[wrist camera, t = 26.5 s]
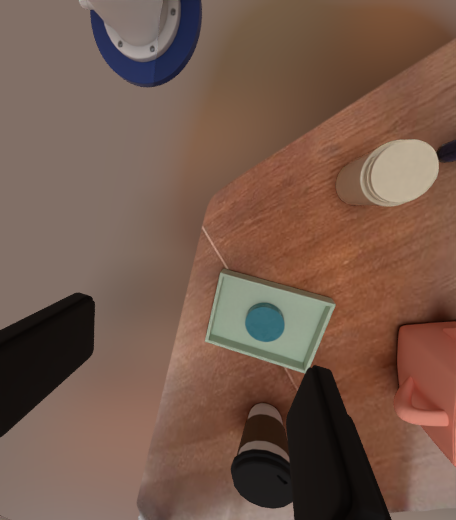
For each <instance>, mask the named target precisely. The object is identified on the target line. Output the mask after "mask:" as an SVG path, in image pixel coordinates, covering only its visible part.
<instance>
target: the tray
mask: <svg viewBox="0 0 456 520" xmlns="http://www.w3.org/2000/svg"><path fill="white" fill-rule="evenodd" d="M258 303H270V304H273V305H275V306H276V307H278V308H279V309H280V311H281V312H282V314H283V317H284V323H285V328H284V332H283V333H282V335H281V336H280V337H279V338H278V339H276V340H274V341H271V342H262V341H258V340H256V339H254V338H253V337H252V336H251V335H250V334H249V333H248V332H247V330H246V326H245V321H246V315H247V312H248V310H249V309H250V308H251V307H252V306H253V305H255V304H258ZM335 305H336V304H335V303H334V301H333V300H332V298H329V297H326V296H322V295H318V294H315V293H311V292H307V291H304V290H300V289H296V288H293V287H289V286H285V285H282V284H278V283H275V282H271V281H267V280H264V279H260V278H256V277H253V276H249V275H245V274H242V273H238V272H234V271H231V270H227V269H223V270H222V271H221V272H220V276H219V280H218V285H217V289H216V294H215V298H214V303H213V307H212V312H211V316H210V321H209V325H208V330H207V334H206V339H205V342H208V343H211V344H214V345H217V346H221V347H224V348H227V349H230V350H233V351H236V352H239V353H242V354H246V355H249V356H252V357H255V358H258V359H261V360H264V361H268V362H271V363H274V364H277V365H280V366H283V367H286V368H290V369H293V370H296V371H299V372H302V373H306V371H307V369H308V368H309V367H310V365H311V363H312V361H313V358H314V356H315V353H316V351H317V349H318V346H319V344H320V341H321V339H322V336H323V334H324V332H325V329H326V327H327V324H328V322H329V320H330V317H331V315H332V312H333V310H334V308H335Z"/></svg>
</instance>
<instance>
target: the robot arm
mask: <svg viewBox="0 0 456 520" xmlns="http://www.w3.org/2000/svg"><path fill="white" fill-rule="evenodd" d="M79 3H80V5H81V7H82V8H84V9H89V10H92V9H93V10H94V11H95V12H96V13H97V14H98V15H99V16H100V17H101V18H102V19H103V21H104V25H105V28H106V30H107V33H108V35H109V37H110V39H111V41H112V42H113V44H114V45H115V46H116V48H117V49H118V50H119V51H120V52H121V53H122V54H123V55H125V56H126V57H128V58H129V59H131V60H134V61H138V62H149V61H152V60H155V59H157V58H158V57H160V56H161V55H162V54H164V53H165V52H166V51H167V50H168V48H169V47H170V45H171V44H172V42H173V40H174V38H175V36H176V34H177V31H178V27H179V23H180V17H181V2H180V0H79ZM94 316H95V302H94V301H93V298H92V297H91V296H88V295H85V294H82V293H74V294H73V295H70V296H68V297H66V298H64V299H62V300H60V301H58V302H56V303H54V304H52V305H50V306H48V307H46V308H44V309H42V310H40V311H38V312H36V313H34V314H32V315H30V316H28V317H26V318H24V319H22V320H20V321H18V322H16V323H14V324H12V325H10V326H8V327H6V328H4V329H2V330H0V437H2V436H3V435H4V434H6V433H7V432H8V431H9V430H10V429H11V428H12V427H13V426H14V425H15V424H17V423H18V422H19V421H20V420H21V419H22V418H23V417H24V416H25V415H27V414H28V413H29V412H30V411H31V410H32V409H33V408H34V407H35V406H36V405H37V404H39V403H40V402H41V401H42V400H43V399H44V398H45V397H47V396H48V395H49V394H50V393H51V392H52V391H53V390H54V389H55V388H56V387H58V386H59V385H60V384H61V383H62V382H63V381H64V380H65V379H66V378H67V377H69V376H70V375H71V374H72V373H73V372H74V371H75V370H76V369H77V368H79V367H80V366H81V365H82V364H83V363H84V362H85V361H86V360H88V358H89V357H90V356H91V355H92V353H93V350H94ZM286 428H287V440H288V451H289V462H290V474H291V485H292V497H293V508H294V519H295V520H391V517H390V514H389V512H388V509H387V507H386V504H385V502H384V499H383V496H382V494H381V491H380V489H379V486H378V484H377V481H376V479H375V476H374V473H373V471H372V468H371V466H370V463H369V461H368V458H367V455H366V453H365V450H364V448H363V445H362V443H361V440H360V437H359V435H358V432H357V430H356V427H355V425H354V422H353V420H352V418H351V417H350V416H349V415H348V414H347V412H346V409H345V406H344V404H343V401H342V398H341V396H340V393H339V390H338V388H337V385H336V382H335V380H334V377H333V374H332V372H331V370H329V369H326V368H323V367H320V366H316V365H314V366H313V367H312V368H310V367H309V368H308V369H307V371H306V373H305V375H304V378H303V380H302V382H301V385H300V387H299V389H298V391H297V394H296V396H295V398H294V401H293V403H292V405H291V408H290V410H289V412H288V415H287V419H286ZM0 520H9V519H7V518H5V517H3V516H1V515H0Z"/></svg>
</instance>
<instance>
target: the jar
mask: <svg viewBox="0 0 456 520" xmlns="http://www.w3.org/2000/svg"><path fill="white" fill-rule="evenodd" d="M438 167H439V162H438V157H437V154H436V152H435V150H434V149H433V148H432V147H431V146H430V145H429V144H427V143H425V142H423V141H420V140H414V139H409V140H394V141H391V142H388V143H385V144H383V145H381V146H379V147H378V148H376V149H374V150H372V151H370V152H368V153H366V154H364V155H362V156H360V157H358V158H356V159H354V160H352V161H351V162H349V163H347V164H346V165H345V166H344V167H343V168H342V169H341V171H340V172H339V174H338V176H337V179H336V192H337V194H338V196H339V198H340V199H341V200H342V201H343V202H345V203H347V204H349V205H354V206H397V205H400V204H403V203H406V202H409V201H411V200H414V199H416V198H418V197H419V196H421V195H422V194H424V193H425V192H426V191H427V190H428V189H429V188H430V187H431V186H432V184H433V182H434V181H435V179H436V178H437V175H438V171H439V169H438Z"/></svg>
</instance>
